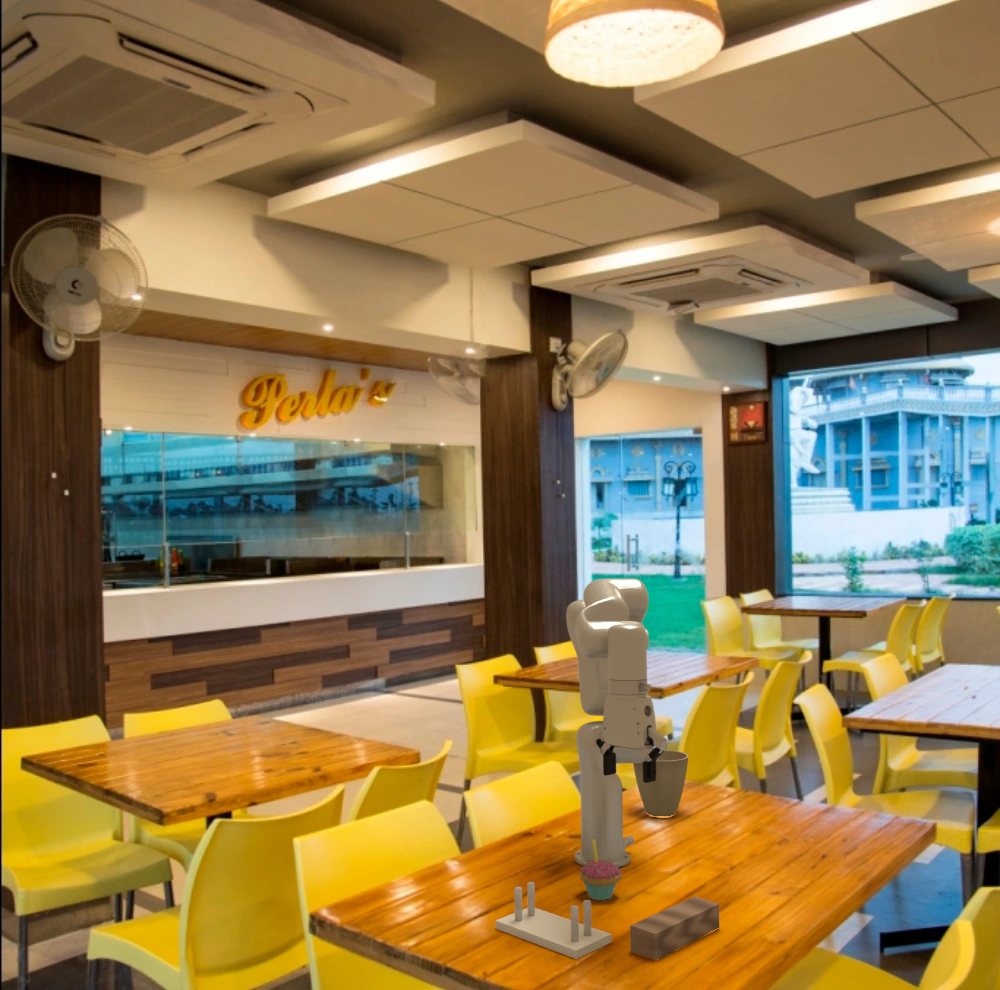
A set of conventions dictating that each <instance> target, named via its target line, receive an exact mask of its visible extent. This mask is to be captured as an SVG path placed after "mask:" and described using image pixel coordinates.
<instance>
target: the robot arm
mask: <svg viewBox="0 0 1000 990" xmlns="http://www.w3.org/2000/svg"><path fill="white" fill-rule="evenodd" d="M582 595H583V599H579V600H574V601H572V602H571V603H569V605H568V606H567V608H566V616H565V617H566V625H567V626H566V627H567V632H568V636H569V639H570V641H571V643H572V646H573V648H574V651H575V654H576V657H577V663H578V664H577V665H578V682H579V683H578V684H579V698H580V705H581V708H582V711H583V712H584V714H586V715H588V716H594V717H595V716H596V717H603V718H602V719H603V720H596V721H589V722H585V723H584V724H582V725H580V727H578V729H577V731H576V749H577V755H578V762H579V770H580V771H579V772H580V773H579V774H580V829H581V830H580V835H581V836H580V837H581V838H580V841H581V845H580V847H581V849H580V850H577V851H576V852H575V854H574V861H575V862H576V863H577V864H578V865H581V866H582V867H583V866H584V865H586V864H587V863H589V862H590V861H595V858H594V850H593V843H592V840H593V837H594V840H595V841H596V849H597V857H598V860H600V861H607V862H611V863H613V864H614V865H616V866H617V867H618V868H621V866H622V867H625V866H626V865H628V864H629V863H630V861H631V856H630V853H628V852H627V851H626V848H627V847H629V846H631V845H633V844H634V843H635V838H634V837H633V836H632V835H628V836H626V837H624V835H623V834H624V833H623V832H624V830H623V829H624V826H623V825H624V824H623V823H624V820H623V819H624V818H623V817H624V816H623V811H624V810H623V784H622V780H621V778H620V777H619V774H617V765H618V764H633V763H643V782H644V783H649V782H653V781H655V780H656V760H658V759H659V756H660V755H661V754H662V753H663V750H665V747H666V745H667V743H668V740H667V738H666V737H665V736H664V735H662V734H661V733H659V732H658V730H657V723H656V715H655V707H654V703H653V698H652V696H651V695H649V692H650V691H651V690H652V685H651V684H649V683H648V661H647V655H648V654H647V653H648V652H647V651H648V648H649V644H650V643H649V642H650V637H649V631H648V630H647V628H645V626H644V624H643V621H644V618H645V616H646V614H647V612H648V607H649V592H648V590H647V587H646V585H645V584H644V582H642V581H641V580H640V579H637V578H598V579H594V580H593V581H590V582H589V583H588V584H587V585H586V586H585V587H584V590H583V594H582ZM592 836H593V837H592Z"/></svg>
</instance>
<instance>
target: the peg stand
mask: <svg viewBox="0 0 1000 990" xmlns="http://www.w3.org/2000/svg"><path fill="white" fill-rule="evenodd" d="M526 884H527V888H526V889H527V890H526V891H527V907H526V908H524V909H523V887H522V886H516V887H515V886H514V912H513V913H511V914H508V915H505V916H504V917H501V918H498V919H495V929H496V930H499V931H501V932H504V933H506V934H510V935H512V936H514V937H517V938H520V939H522V940H525V941H527V942H530V943H533V944H535V945H538V946H541V947H543V948H546V949H548V950H551V951H554V952H556V953H560V955H561V954H562V955H564V956H566V957H569V958H572V959H575V960H578V959H580V958H582V957H584V956H586V955H588V954H591V953H592V952H595V951H596V950H599V949H600V948H603V947H604V946H607V945H609V944H611V943H612V933H610V932H606V931H604V930H600V929H598V928H595V927H592V900H589V899H584V900H583V901H582V902H583V903H582V904H583V907H582V909H583V912H582V913H583V923H580V922H579V921H580V919H579V905H574V904H572V905H571V906H570V919H569V918H566V917H564V916H563V917H562V916H560V915H557V914H554V913H552V912H549V911H546V910H544V909H540V908H537V907H536V903H535V901H536V894H535V893H536V891H535V890H536V885H535V884H536V882H534V881H528V882H527V883H526Z"/></svg>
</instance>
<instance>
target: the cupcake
mask: <svg viewBox="0 0 1000 990" xmlns="http://www.w3.org/2000/svg"><path fill="white" fill-rule="evenodd" d="M592 837H593V836H592ZM592 843H593V850H594V858H595V861H590V862H589V863H587V864H586V865H584V866H583V865H582V867H581V868H580V870H579V873H580V876H579V877H580V880H581V881H582V882H583V884H584V886H585V888H586V891H587V894H588V897H589V899H591V898H592V899H591V900H594V899H597V900H596V901H600V900H602V901H607V900H606V899H608V900H610V899H612V898H613V894H614V891H615V887H616V885H617V883H619V881H621V880H622V875H623V874H622V871H621V869H620V867H617V866H616V865H614V864H613V863H611V862H607V861H600V860H598V857H597V849H596V841H595V840H594V837H593V840H592Z"/></svg>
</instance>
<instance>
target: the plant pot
mask: <svg viewBox="0 0 1000 990" xmlns="http://www.w3.org/2000/svg"><path fill="white" fill-rule="evenodd" d="M688 762H689V755H688V753H685V752H683V751H678V750H672V749H671V750H670V749H663V753H662V754H661V755H660V756H659V759H658V760H656V780H655V781H653V782H649V783H644V782H643V763H632V765H633V771H634V777H635V780H636V784H637V788H638V792H639V796H640V799H641V801H642V805H643V807H644V810H645V812H647V813H648V814H650V815H653V816H671V815H674V814H675V813H676V814H677V811H678V807H679V805H680V802H681V799H682V798H681V797H682V795H683V790H684V787H685V783H686V776H687V772H688V770H687V769H688V765H689V764H688ZM647 813H646V814H647ZM676 814H675V815H676Z"/></svg>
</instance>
